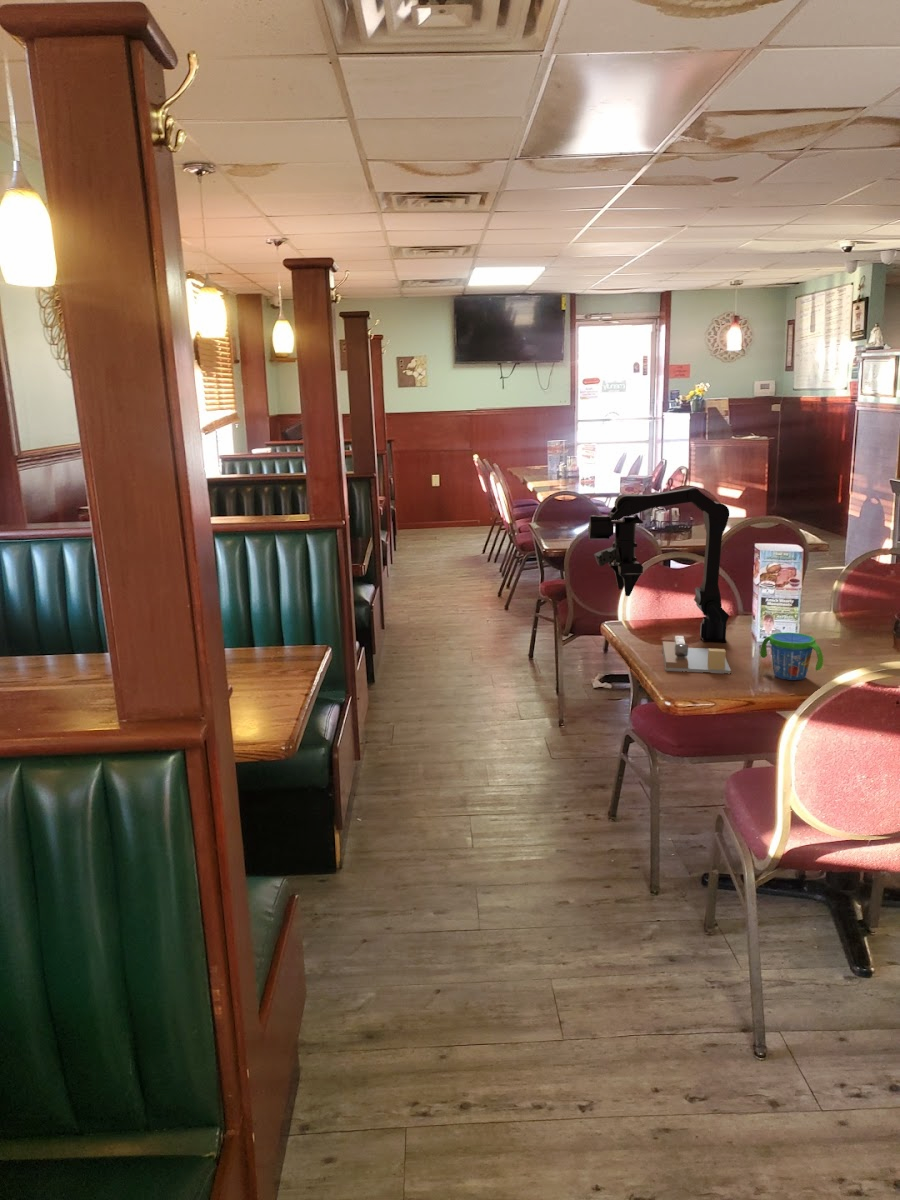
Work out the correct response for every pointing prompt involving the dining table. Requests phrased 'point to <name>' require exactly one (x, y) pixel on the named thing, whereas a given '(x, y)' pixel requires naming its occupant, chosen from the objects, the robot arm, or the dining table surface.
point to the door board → (695, 660)
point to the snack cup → (791, 654)
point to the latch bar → (680, 646)
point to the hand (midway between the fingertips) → (623, 592)
